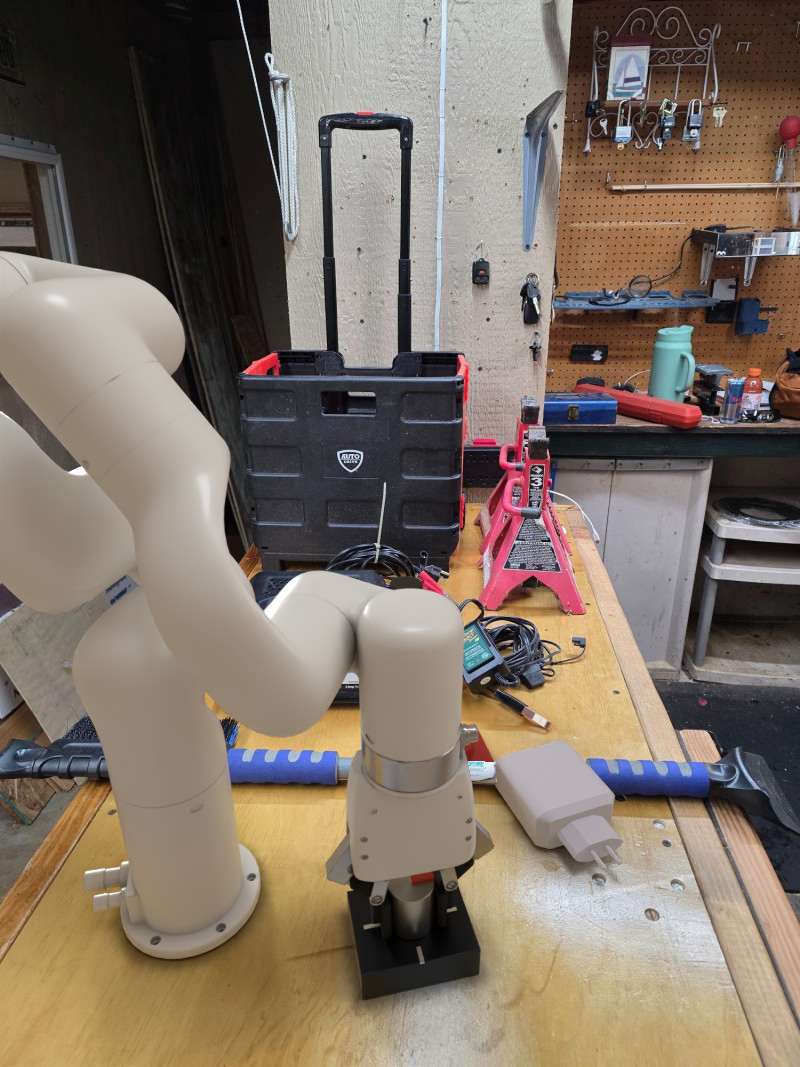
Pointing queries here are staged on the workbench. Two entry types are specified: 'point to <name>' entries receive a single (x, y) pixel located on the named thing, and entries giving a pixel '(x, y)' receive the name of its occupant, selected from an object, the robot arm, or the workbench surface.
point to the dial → (412, 905)
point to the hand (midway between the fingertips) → (411, 916)
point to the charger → (560, 801)
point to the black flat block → (411, 950)
